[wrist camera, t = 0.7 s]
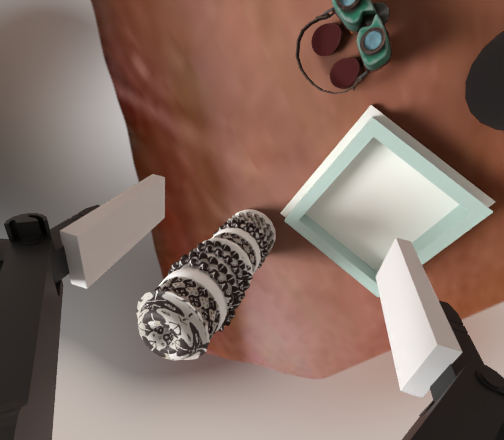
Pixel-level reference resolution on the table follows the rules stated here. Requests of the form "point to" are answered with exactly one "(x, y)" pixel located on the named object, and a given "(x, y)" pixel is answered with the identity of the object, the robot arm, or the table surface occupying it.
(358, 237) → the pocket tray
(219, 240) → the decorative candle
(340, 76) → the binoculars
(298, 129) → the table surface
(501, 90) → the coffee jar
